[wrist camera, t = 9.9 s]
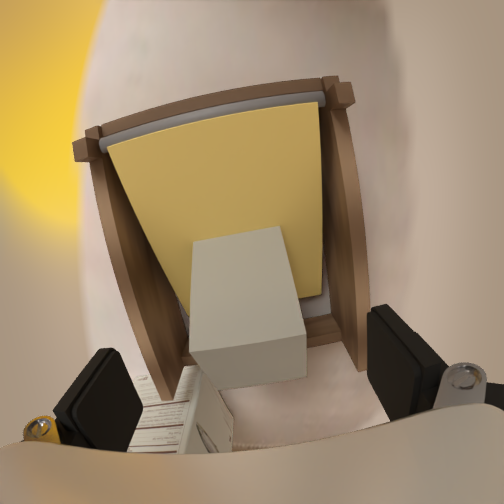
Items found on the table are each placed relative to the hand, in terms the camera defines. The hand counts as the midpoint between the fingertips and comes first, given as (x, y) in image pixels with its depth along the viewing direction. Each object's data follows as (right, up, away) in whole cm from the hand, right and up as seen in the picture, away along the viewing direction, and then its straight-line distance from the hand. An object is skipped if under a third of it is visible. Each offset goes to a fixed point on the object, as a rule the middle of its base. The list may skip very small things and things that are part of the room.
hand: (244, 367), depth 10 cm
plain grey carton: (0, +3, +9) cm, 9 cm away
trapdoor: (-1, +6, +8) cm, 10 cm away
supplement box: (-6, -9, +15) cm, 19 cm away
